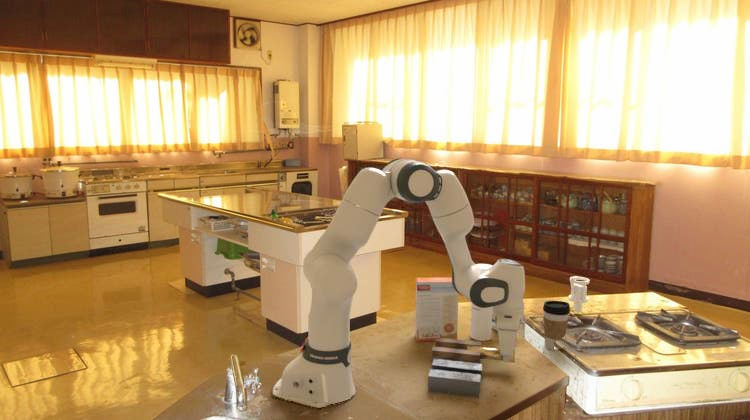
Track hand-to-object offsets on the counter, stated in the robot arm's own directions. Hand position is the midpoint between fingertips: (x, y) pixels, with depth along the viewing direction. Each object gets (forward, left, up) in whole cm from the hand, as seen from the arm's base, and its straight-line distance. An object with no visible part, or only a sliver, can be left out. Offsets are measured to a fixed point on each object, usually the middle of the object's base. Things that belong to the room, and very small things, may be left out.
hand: (506, 357), depth 162 cm
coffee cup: (+15, +22, -4) cm, 27 cm away
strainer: (+26, +57, -4) cm, 63 cm away
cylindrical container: (-9, +24, -4) cm, 26 cm away
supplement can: (-2, +34, -4) cm, 34 cm away
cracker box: (-24, +19, -4) cm, 30 cm away
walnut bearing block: (-15, 0, -4) cm, 15 cm away
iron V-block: (-14, -13, -4) cm, 19 cm away
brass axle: (-5, 0, +1) cm, 5 cm away
